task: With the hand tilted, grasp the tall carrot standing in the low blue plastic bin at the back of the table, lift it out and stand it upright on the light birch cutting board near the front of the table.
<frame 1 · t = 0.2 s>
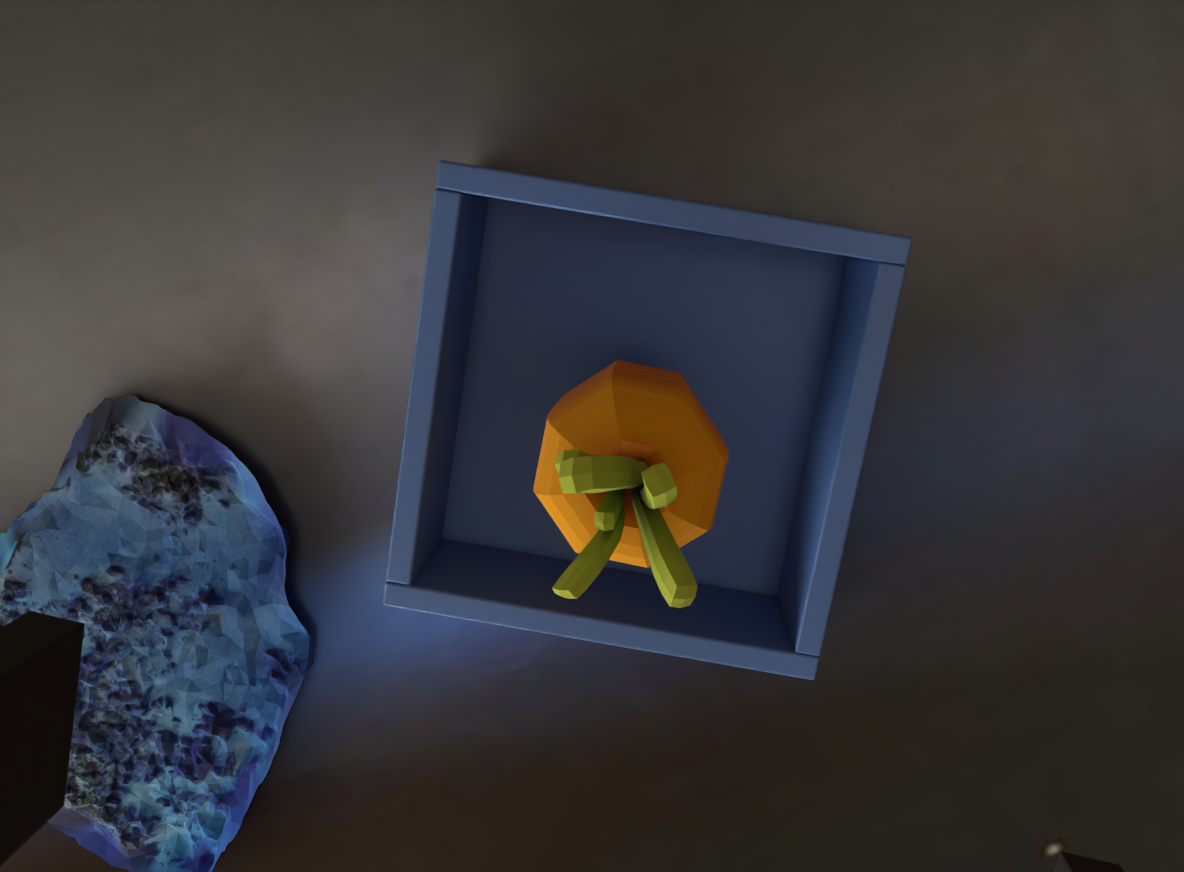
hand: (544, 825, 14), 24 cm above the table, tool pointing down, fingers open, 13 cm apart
bin: (637, 399, 36), on the table
blue flat piece: (139, 632, 39), on the table
carrot: (637, 401, 36), resting in bin
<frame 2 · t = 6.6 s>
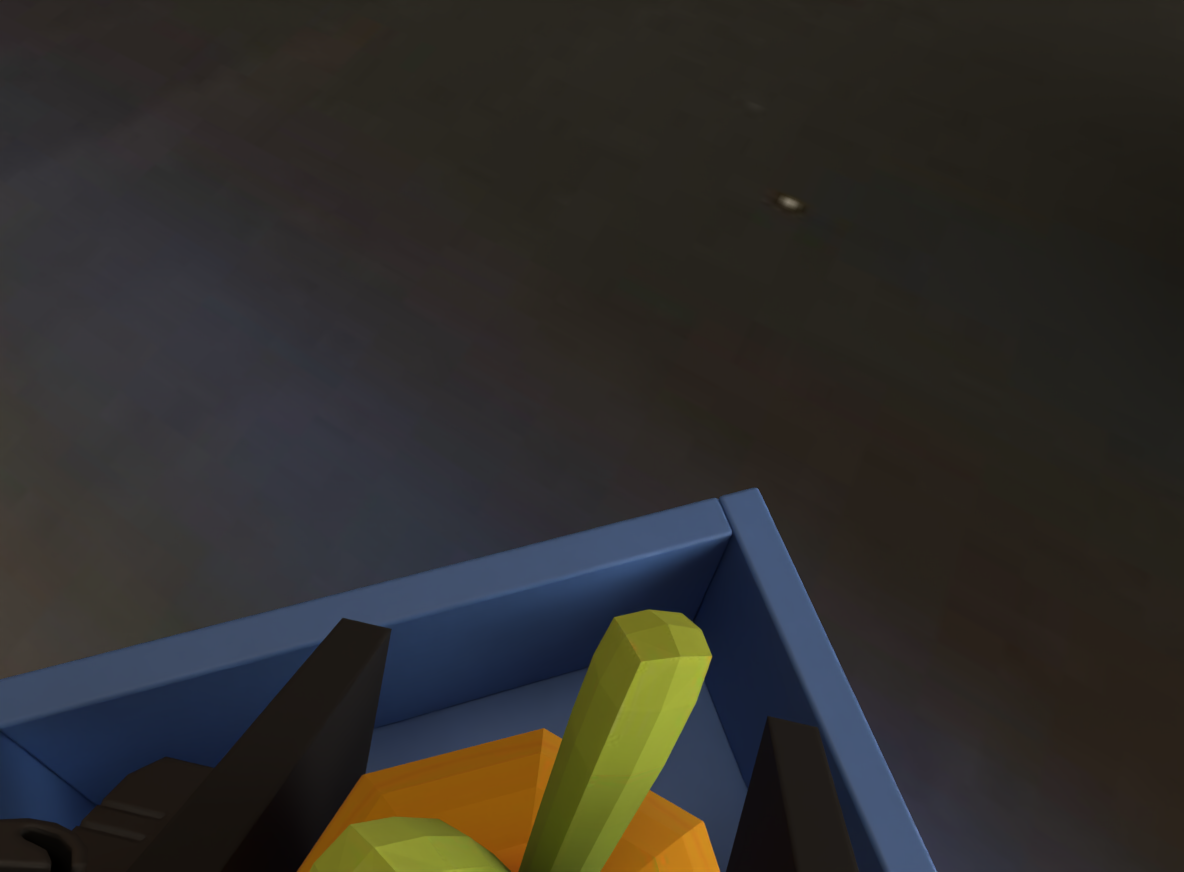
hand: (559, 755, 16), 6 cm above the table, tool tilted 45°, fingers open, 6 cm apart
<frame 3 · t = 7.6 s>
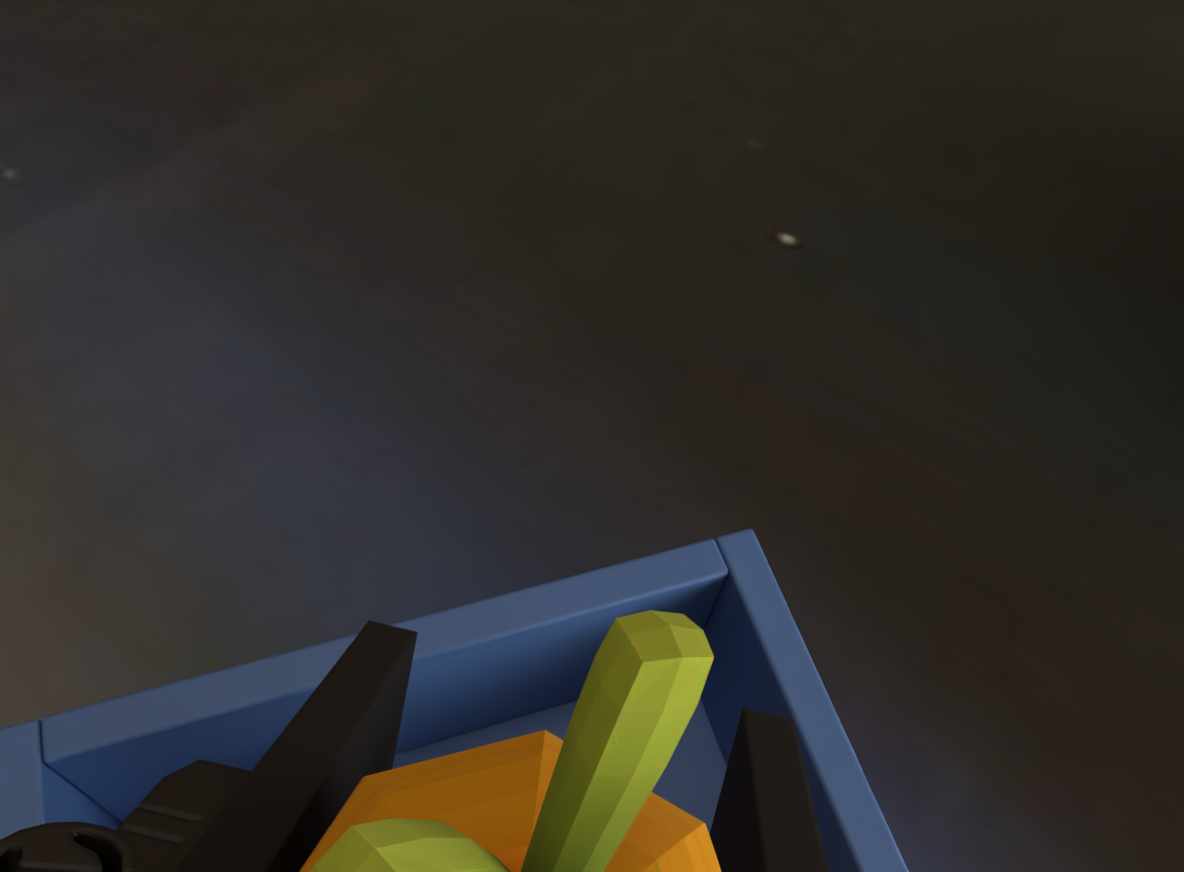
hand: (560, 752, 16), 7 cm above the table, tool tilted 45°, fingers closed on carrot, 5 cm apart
when the fingers open (7 cm above the table, at t = 18.6 s): carrot stays where it is, resting on board.
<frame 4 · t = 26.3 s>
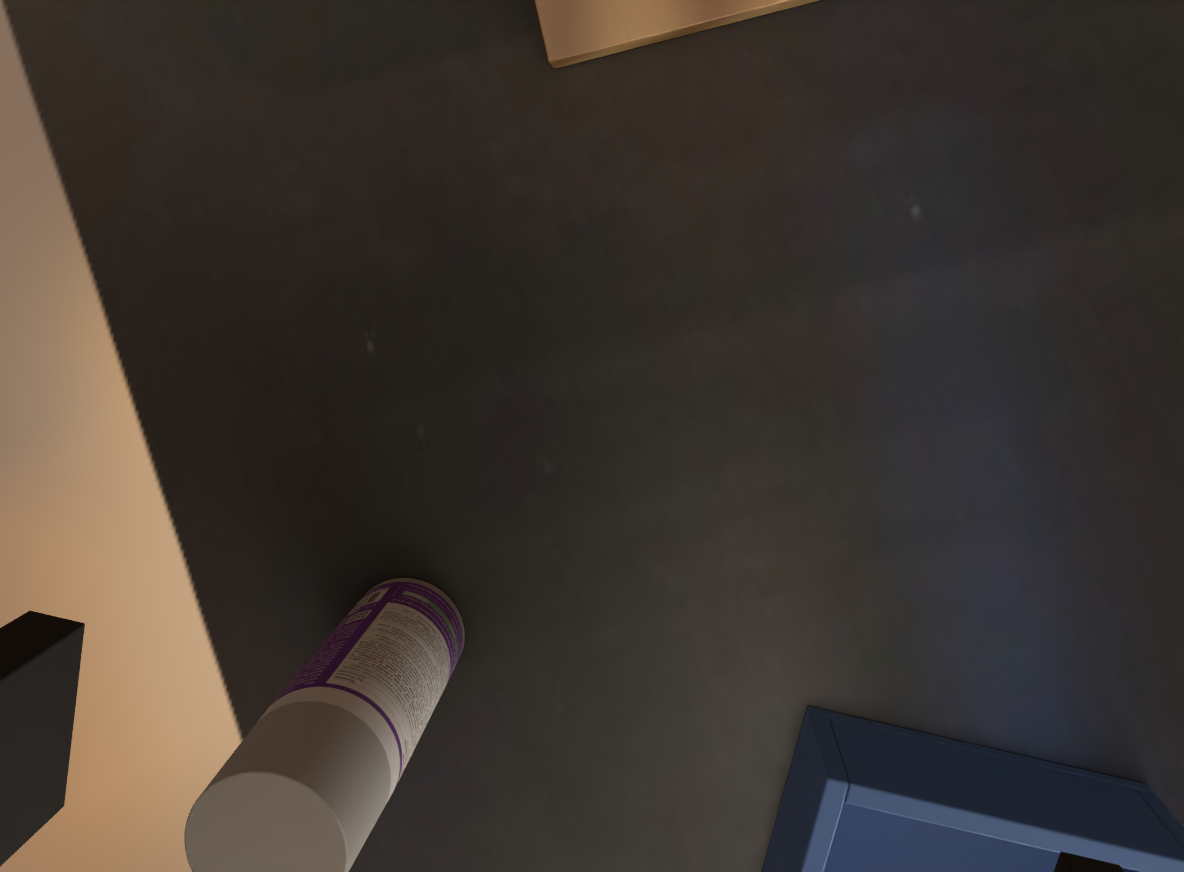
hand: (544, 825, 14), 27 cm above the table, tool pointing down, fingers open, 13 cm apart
container: (409, 630, 42), on the table
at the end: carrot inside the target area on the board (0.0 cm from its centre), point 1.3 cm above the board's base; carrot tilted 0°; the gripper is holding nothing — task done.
